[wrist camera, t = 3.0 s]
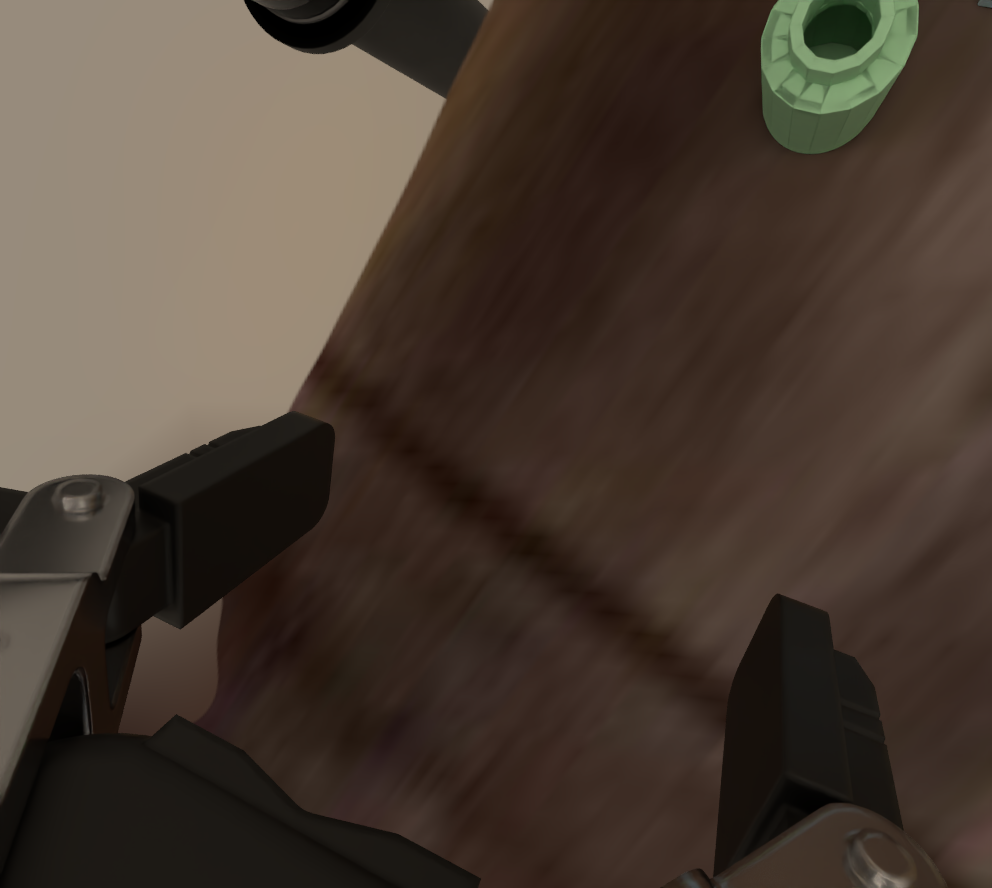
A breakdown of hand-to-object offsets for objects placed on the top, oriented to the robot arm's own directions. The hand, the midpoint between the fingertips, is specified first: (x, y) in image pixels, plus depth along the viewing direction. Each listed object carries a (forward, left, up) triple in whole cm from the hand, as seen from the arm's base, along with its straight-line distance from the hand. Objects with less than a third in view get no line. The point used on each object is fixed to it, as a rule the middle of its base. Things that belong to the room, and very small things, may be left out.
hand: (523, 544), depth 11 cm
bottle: (+1, +14, -26) cm, 29 cm away
